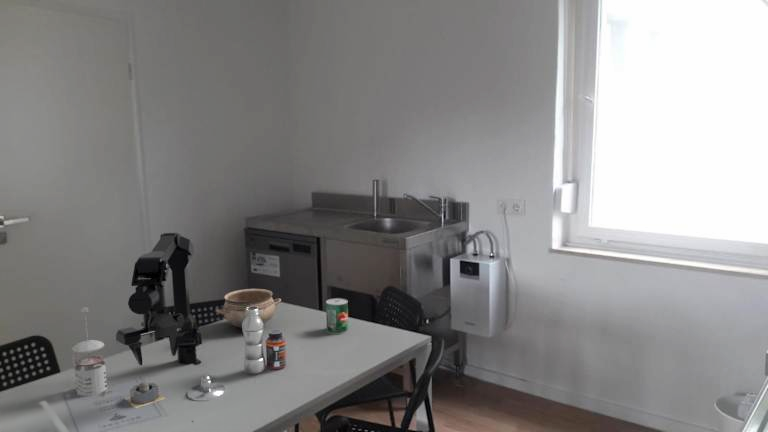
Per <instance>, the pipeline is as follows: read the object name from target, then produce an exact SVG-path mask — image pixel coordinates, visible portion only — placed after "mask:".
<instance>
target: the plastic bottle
mask: <svg viewBox="0 0 768 432" xmlns="http://www.w3.org/2000/svg"><path fill="white" fill-rule="evenodd" d="M258 314H259V312H258V307H248V308H246V315H247V317H246V318H245V320H244V321H243V324H242V328H241V329H242V335H243V340H244V359H243V368H244V370H245V372H246V373H247V374H249V375H255V374H256V375H257V374H259V373H260V374H261V373H262V372H264V370H265V368H266V359H265V354H264V353H265V352H264V347H263V337H264V336H263V335H264V324H263V322H262V320H261V319H260V317H259V316H258Z"/></svg>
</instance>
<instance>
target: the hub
mask: <svg viewBox="0 0 768 432" xmlns="http://www.w3.org/2000/svg"><path fill="white" fill-rule="evenodd" d="M225 393H226V386H225V385H224V384H221V383H217V382H212V379H211V377H210V375H206V374H205V375H203V376H202V377H201V379H200V384H198V385H194V386H192V387H191V388H190V389H189V390H188V391H187V397H188V398H189V399H190V400H193V401H198V402H199V401H201V402H202V401H209V400H214V399H218V398H219V397H221V396H222V395H224V394H225Z"/></svg>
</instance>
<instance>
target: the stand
mask: <svg viewBox="0 0 768 432" xmlns="http://www.w3.org/2000/svg"><path fill="white" fill-rule="evenodd" d="M148 383H149V382H147V381H142V382H140V383H139V384H140V385H139V384H138V385H139V391H140V392H144V391H147V390H149V384H148ZM124 399H125V401H126V402H128V403H129V404H130V405H131V406H132V407H133V408H134V409H138V408H141V407H144V406H147V405H150V404H154V403H157V402H160V401H164V400H166V398H165V397H164V396H163V395H161V393H159V397H158V398H157V399H156V400H155V401H153V402H150V403H147V404H134V403H133V402H131V399H130V396H128V397H125V398H124Z"/></svg>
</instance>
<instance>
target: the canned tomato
mask: <svg viewBox="0 0 768 432" xmlns="http://www.w3.org/2000/svg"><path fill="white" fill-rule="evenodd" d="M348 302H349V301H348V299H346V298H340V297H335V298H330V299H327V300H326V301H325V304H326V305H325V308H326V314H325V315H326V332H327V333H328V334H331V335H342V334H346V333H348V331H349V308H348V307H349V305H348Z"/></svg>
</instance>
